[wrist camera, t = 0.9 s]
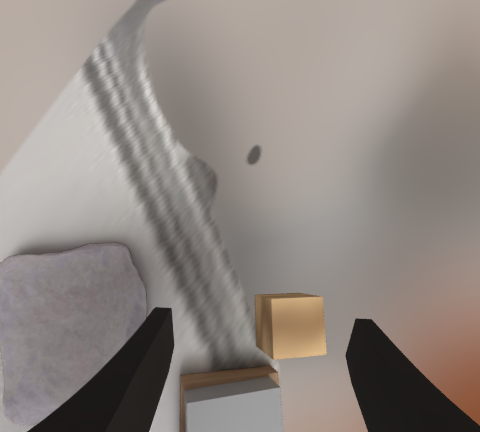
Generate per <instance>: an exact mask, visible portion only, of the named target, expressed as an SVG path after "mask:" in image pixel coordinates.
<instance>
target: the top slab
mask: <svg viewBox="0 0 480 432" xmlns="http://www.w3.org/2000/svg"><path fill="white" fill-rule="evenodd" d="M184 400H185V432H284V427H283V415H282V401H281V389H280V386H279V385H277V384H276V383H275V382H274V381H273V380H272V379H271V378H270V377H262V378H256V379H250V380H244V381H237V382H231V383H225V384H219V385H213V386H206V387H200V388H194V389H188V390H184Z"/></svg>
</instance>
